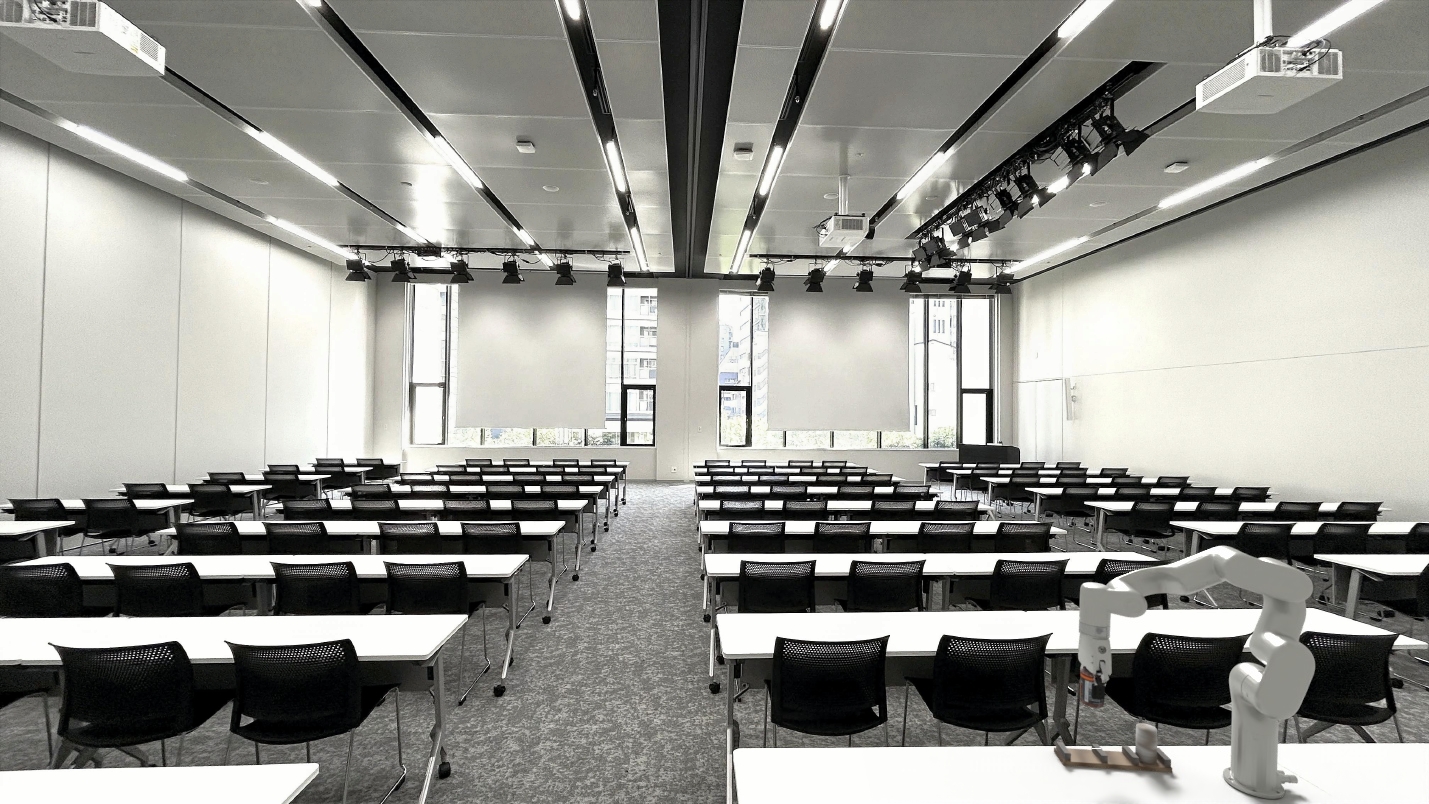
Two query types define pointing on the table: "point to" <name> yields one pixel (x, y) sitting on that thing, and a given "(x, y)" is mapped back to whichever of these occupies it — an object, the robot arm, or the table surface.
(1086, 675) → the supplement bottle
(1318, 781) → the table surface
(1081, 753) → the rail
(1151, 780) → the table surface
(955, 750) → the table surface
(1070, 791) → the table surface
